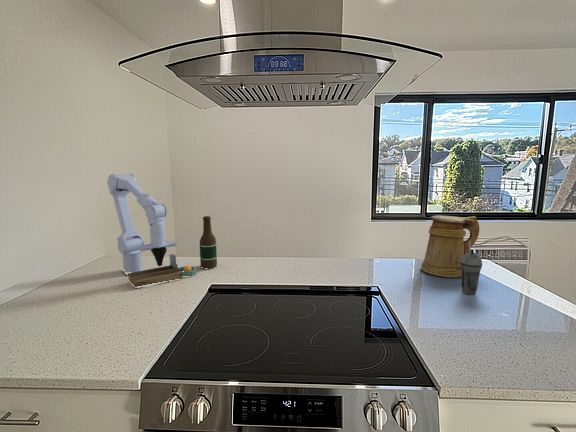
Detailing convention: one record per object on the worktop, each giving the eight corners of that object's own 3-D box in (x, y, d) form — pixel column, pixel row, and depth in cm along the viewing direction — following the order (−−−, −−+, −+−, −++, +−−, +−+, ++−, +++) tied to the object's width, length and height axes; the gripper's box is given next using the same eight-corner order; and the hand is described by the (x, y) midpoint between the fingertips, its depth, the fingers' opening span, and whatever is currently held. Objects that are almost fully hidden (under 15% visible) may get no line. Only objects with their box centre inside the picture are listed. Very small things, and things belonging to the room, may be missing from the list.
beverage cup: (482, 297, 126) (487, 243, 123) (460, 296, 128) (465, 243, 125) (476, 290, 133) (480, 239, 130) (455, 289, 135) (459, 238, 132)
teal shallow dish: (173, 274, 154) (173, 268, 154) (191, 270, 159) (191, 265, 159) (180, 279, 148) (180, 273, 148) (199, 275, 153) (198, 269, 153)
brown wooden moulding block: (129, 282, 144) (128, 272, 143) (172, 273, 155) (171, 263, 154) (135, 289, 136) (134, 278, 136) (180, 279, 147) (180, 269, 146)
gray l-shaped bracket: (169, 269, 151) (169, 254, 150) (174, 268, 152) (173, 253, 151) (173, 271, 148) (172, 256, 147) (177, 270, 149) (176, 255, 148)
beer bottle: (197, 268, 162) (194, 217, 158) (205, 263, 169) (203, 214, 165) (212, 270, 160) (210, 218, 156) (220, 265, 167) (218, 215, 163)
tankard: (414, 265, 165) (417, 213, 161) (464, 265, 165) (468, 212, 161) (430, 278, 147) (434, 220, 143) (486, 278, 147) (491, 219, 143)
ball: (188, 263, 156) (190, 270, 157) (181, 266, 154) (182, 273, 155) (191, 265, 153) (193, 272, 154) (184, 268, 151) (185, 275, 152)
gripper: (141, 237, 136) (144, 271, 138) (178, 232, 145) (180, 264, 147) (136, 234, 142) (139, 266, 144) (172, 230, 151) (174, 260, 153)
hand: (159, 265), depth 146 cm, fingers closed
